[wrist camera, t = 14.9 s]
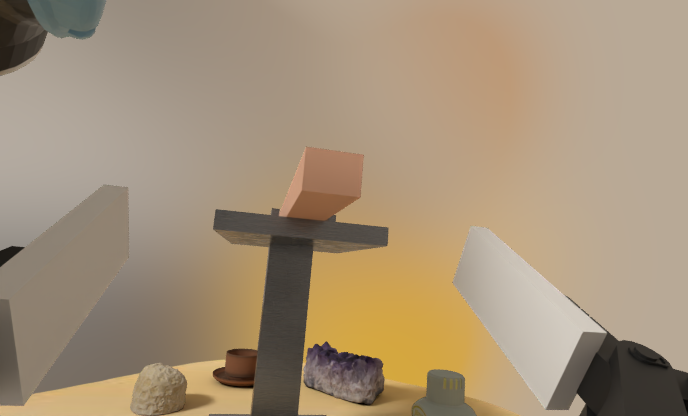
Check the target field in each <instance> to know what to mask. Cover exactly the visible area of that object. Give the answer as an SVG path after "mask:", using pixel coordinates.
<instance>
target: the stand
mask: <svg viewBox="0 0 688 416" xmlns="http://www.w3.org/2000/svg"><path fill="white" fill-rule="evenodd" d="M279 211H280V210H279V209H274V208H272V211H271V215H264V214H255V213H246V212H236V211H227V210H216V212H215V219H214V226H213V229H214V230H215V231H216V232H218V234H220V235H221V236H222V237H224V238H225V239H226V240H228V241H229V242H230V243H231V244H241V245H253V246H263V247H269V251H268V260H267V269H266V278H265V287H264V296H263V306H262V315H261V324H260V333H259V342H258V351H257V360H256V369H255V378H254V387H253V396H252V405H251V414H209V416H326V415H298V407H299V396H300V385H301V374H302V363H303V351H304V342H305V331H306V320H307V309H308V299H309V288H310V277H311V266H312V255H313V251H319V252H330V253H342V252H349V251H356V250H363V249H371V248H378V247H385V246H387V244H388V228H387V227H378V226H368V225H359V224H348V223H339V222H335V221H336V215H333V216H331V217H330V218H328V219H327V220H325V221H321V220H312V219H302V218H293V217H283V216H279Z"/></svg>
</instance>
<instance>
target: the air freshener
mask: <svg viewBox="0 0 688 416" xmlns="http://www.w3.org/2000/svg"><path fill="white" fill-rule="evenodd" d="M464 389H465V378H464V377H463V375H461V374H459V373H457V372H453V371H448V370H431V371H429V372H428V375H427V393H426V397H423V398H421V399H419V400H418V401H416V402H415V403H414V405H413V407H412V416H477V415H476V414H475V412H474V411H473V409H472V408H471V407H470V406H469V405H467V404H466V403H464V391H465V390H464Z"/></svg>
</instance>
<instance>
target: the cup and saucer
mask: <svg viewBox="0 0 688 416" xmlns="http://www.w3.org/2000/svg"><path fill="white" fill-rule="evenodd" d="M256 360H257V350H252V349H232V350H228V351H227V355H226V364H225V367H222V368H218V369H216V370H214V371H213V377H214V378H215V379H216V380H217V381H219V382H221V383H224V384H227V385H233V386H251V385H254V378H255V369H256Z"/></svg>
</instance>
